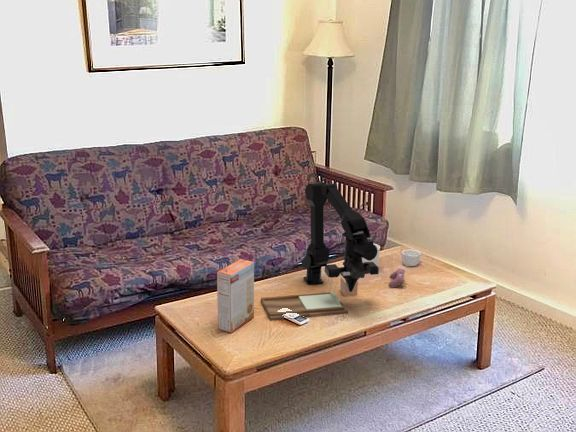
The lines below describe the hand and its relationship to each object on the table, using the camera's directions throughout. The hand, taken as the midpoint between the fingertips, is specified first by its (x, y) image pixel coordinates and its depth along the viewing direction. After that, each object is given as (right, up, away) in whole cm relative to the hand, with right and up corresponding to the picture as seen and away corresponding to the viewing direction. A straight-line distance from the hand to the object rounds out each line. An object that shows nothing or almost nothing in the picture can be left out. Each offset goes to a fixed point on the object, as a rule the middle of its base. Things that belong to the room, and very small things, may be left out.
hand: (350, 291), depth 247 cm
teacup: (+30, +7, +41) cm, 51 cm away
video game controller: (+20, +1, +21) cm, 29 cm away
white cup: (+11, +5, +35) cm, 37 cm away
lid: (-11, -4, -1) cm, 12 cm away
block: (0, -2, +11) cm, 12 cm away
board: (-17, -5, -2) cm, 18 cm away
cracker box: (-40, -9, -15) cm, 44 cm away
